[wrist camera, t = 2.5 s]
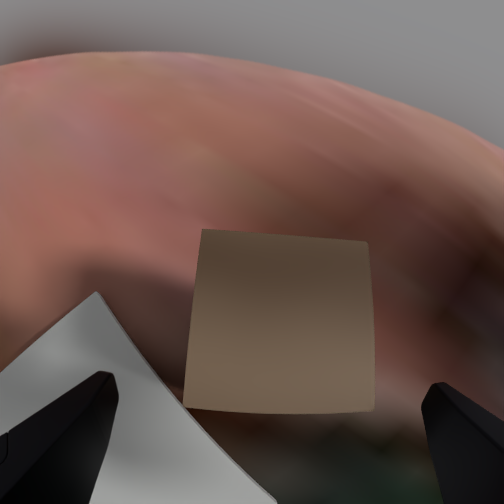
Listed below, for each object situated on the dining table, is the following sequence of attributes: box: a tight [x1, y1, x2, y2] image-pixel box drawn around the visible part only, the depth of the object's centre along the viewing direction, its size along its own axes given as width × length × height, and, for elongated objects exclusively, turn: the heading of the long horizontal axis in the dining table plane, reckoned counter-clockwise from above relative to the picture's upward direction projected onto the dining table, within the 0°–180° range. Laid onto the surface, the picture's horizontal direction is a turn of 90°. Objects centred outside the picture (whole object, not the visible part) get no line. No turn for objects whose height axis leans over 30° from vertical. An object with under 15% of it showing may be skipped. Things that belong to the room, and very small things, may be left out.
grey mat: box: [0, 291, 277, 504], centre depth 13 cm, size 16×16×1 cm
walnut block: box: [183, 229, 375, 414], centre depth 13 cm, size 5×5×10 cm
